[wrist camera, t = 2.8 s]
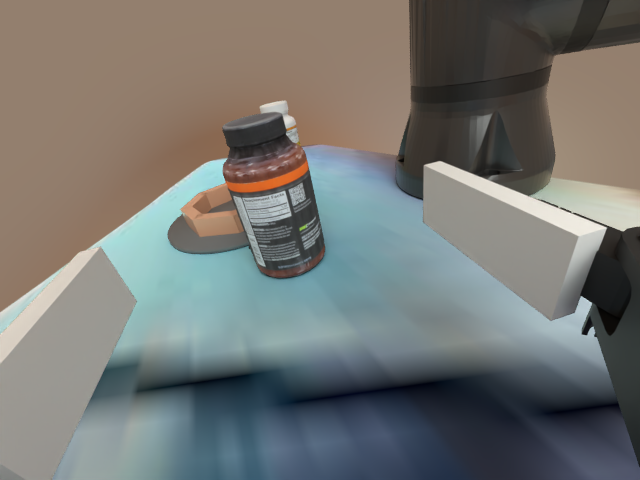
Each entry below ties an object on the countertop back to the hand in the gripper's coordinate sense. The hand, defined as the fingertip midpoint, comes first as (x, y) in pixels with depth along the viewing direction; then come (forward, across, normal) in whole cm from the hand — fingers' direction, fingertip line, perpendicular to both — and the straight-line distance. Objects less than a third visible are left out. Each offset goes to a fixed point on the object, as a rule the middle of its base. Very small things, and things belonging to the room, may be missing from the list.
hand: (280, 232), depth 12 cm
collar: (+22, -4, -7) cm, 24 cm away
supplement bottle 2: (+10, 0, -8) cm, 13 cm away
